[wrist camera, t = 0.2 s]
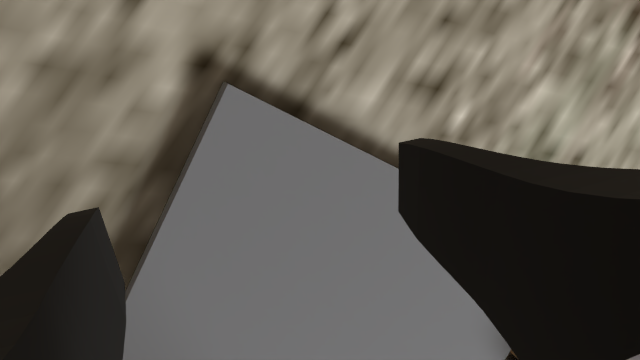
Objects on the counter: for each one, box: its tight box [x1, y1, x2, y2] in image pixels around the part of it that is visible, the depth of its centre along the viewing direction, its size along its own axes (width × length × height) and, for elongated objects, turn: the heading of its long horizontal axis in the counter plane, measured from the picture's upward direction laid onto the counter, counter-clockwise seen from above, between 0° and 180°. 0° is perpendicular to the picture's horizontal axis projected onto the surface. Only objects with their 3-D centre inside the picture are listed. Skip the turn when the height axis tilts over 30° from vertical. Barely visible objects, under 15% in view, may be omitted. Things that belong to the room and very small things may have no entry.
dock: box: [123, 82, 511, 360], centre depth 24 cm, size 14×22×2 cm, turn 62°
